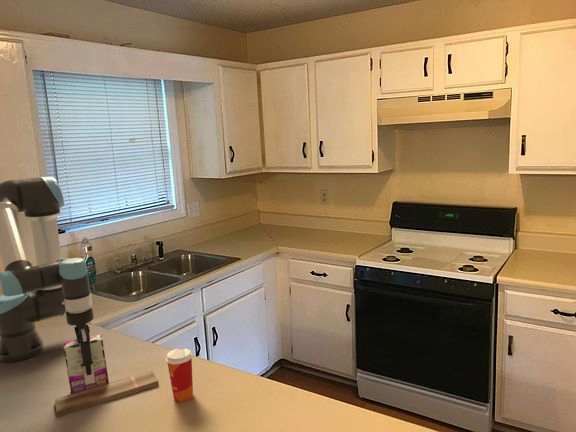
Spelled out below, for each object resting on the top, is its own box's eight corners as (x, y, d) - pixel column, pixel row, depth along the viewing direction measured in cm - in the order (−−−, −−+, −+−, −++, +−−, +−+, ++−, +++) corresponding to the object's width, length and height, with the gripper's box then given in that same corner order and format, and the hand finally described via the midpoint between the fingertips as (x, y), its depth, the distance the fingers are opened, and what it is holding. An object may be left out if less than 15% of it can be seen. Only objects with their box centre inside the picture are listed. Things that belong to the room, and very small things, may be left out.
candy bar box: (108, 379, 153) (102, 332, 150) (109, 387, 148) (103, 339, 145) (70, 389, 148) (63, 341, 145) (70, 397, 144) (63, 347, 141)
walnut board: (55, 403, 141) (54, 398, 141) (152, 374, 155) (151, 370, 154) (57, 416, 134) (56, 411, 134) (158, 385, 148) (158, 380, 148)
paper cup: (174, 390, 145) (169, 347, 142) (198, 389, 144) (194, 346, 142) (166, 404, 137) (161, 360, 134) (193, 404, 137) (188, 359, 134)
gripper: (63, 303, 149) (73, 370, 154) (68, 321, 134) (79, 396, 138) (88, 297, 153) (97, 364, 157) (96, 315, 137) (106, 388, 142)
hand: (89, 378), depth 148 cm, fingers closed on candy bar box, 5 cm apart
